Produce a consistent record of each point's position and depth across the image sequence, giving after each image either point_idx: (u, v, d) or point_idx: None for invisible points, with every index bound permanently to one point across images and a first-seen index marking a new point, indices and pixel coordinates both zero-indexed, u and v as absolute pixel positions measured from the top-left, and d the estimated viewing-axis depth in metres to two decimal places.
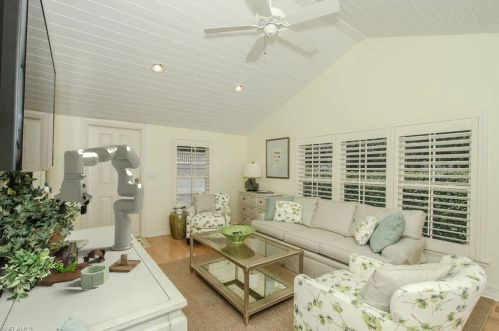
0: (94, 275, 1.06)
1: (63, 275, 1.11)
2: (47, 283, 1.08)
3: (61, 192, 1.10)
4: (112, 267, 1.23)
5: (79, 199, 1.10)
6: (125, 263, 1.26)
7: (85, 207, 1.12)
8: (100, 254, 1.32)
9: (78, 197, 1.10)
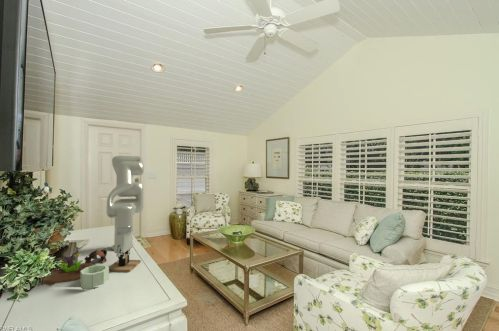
0: (94, 275, 1.06)
1: (67, 274, 1.12)
2: (51, 282, 1.08)
3: (124, 245, 1.23)
4: (112, 267, 1.23)
5: (131, 245, 1.31)
6: (125, 263, 1.26)
7: None
8: (102, 254, 1.31)
9: (131, 244, 1.30)
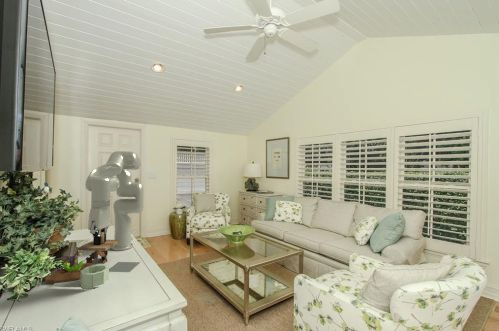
0: (94, 275, 1.06)
1: (69, 274, 1.12)
2: (54, 282, 1.09)
3: (100, 221, 1.09)
4: (86, 246, 1.08)
5: (109, 223, 1.17)
6: (101, 242, 1.12)
7: None
8: (103, 255, 1.31)
9: (109, 221, 1.16)
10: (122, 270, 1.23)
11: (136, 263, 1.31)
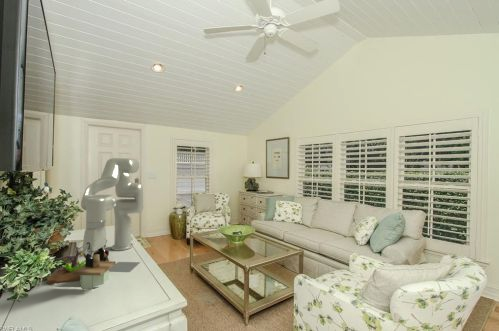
0: (94, 275, 1.06)
1: (71, 274, 1.12)
2: (56, 282, 1.08)
3: (94, 242, 1.06)
4: (81, 270, 1.07)
5: (105, 243, 1.15)
6: (96, 265, 1.10)
7: None
8: (104, 255, 1.31)
9: (105, 241, 1.14)
10: (122, 270, 1.23)
11: (136, 263, 1.31)
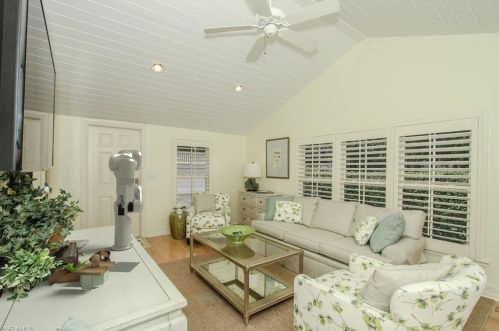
0: (94, 275, 1.06)
1: (73, 275, 1.12)
2: None
3: (126, 195, 1.25)
4: (81, 270, 1.07)
5: (133, 199, 1.34)
6: (96, 265, 1.10)
7: None
8: (106, 255, 1.31)
9: (133, 197, 1.33)
10: (122, 270, 1.23)
11: (136, 263, 1.31)
